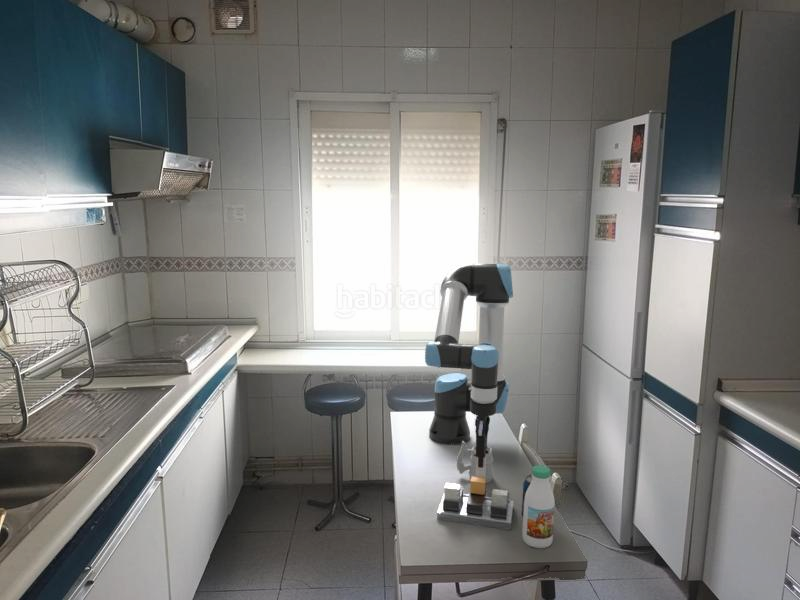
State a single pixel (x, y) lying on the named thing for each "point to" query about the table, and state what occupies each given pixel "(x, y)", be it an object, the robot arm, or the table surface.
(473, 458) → the mug
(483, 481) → the toggle
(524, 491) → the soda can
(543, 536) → the milk bottle
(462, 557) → the table surface
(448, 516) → the breaker panel
